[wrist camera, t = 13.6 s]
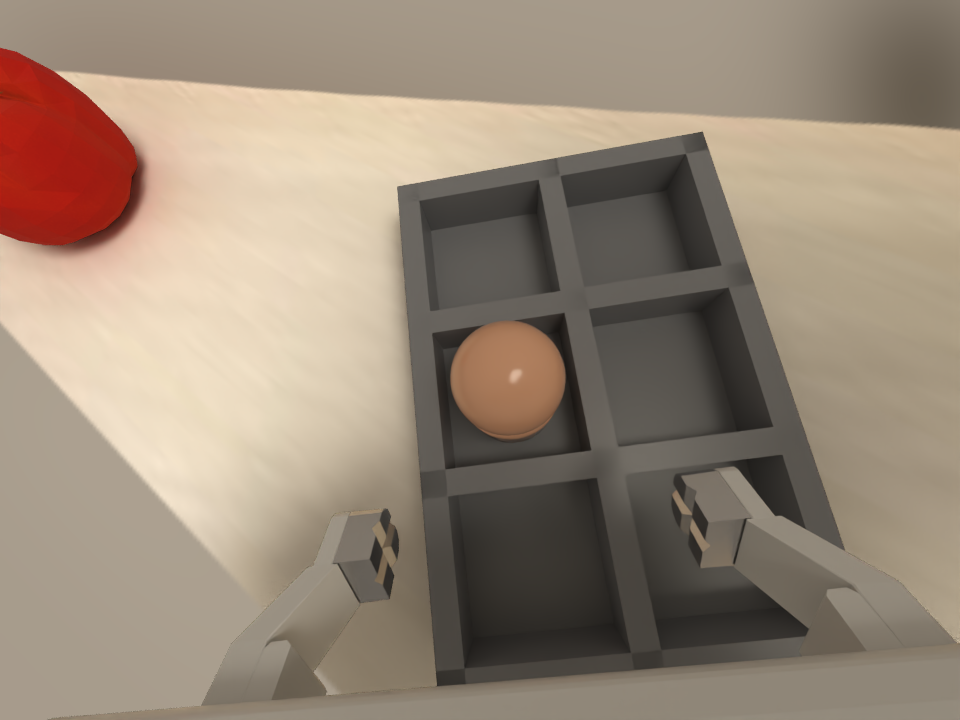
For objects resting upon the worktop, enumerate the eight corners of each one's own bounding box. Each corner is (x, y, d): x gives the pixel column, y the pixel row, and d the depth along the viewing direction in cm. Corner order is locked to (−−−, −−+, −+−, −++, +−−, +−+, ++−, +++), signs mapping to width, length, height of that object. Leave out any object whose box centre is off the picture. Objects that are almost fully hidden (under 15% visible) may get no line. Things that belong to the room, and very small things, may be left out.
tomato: (67, 293, 28) (-135, 218, 20) (11, 191, 31) (-184, 86, 23) (190, 203, 29) (49, 93, 21) (124, 112, 32) (-23, -17, 24)
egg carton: (675, 182, 25) (702, 131, 22) (810, 624, 19) (884, 666, 15) (415, 226, 27) (397, 186, 23) (454, 659, 20) (438, 705, 16)
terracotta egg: (546, 351, 22) (559, 292, 15) (561, 436, 21) (584, 420, 14) (463, 363, 23) (434, 312, 15) (473, 448, 22) (446, 439, 14)
